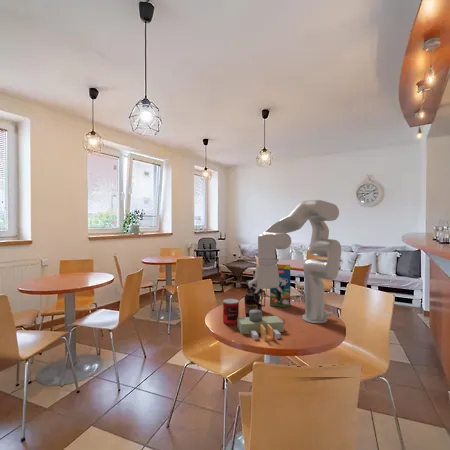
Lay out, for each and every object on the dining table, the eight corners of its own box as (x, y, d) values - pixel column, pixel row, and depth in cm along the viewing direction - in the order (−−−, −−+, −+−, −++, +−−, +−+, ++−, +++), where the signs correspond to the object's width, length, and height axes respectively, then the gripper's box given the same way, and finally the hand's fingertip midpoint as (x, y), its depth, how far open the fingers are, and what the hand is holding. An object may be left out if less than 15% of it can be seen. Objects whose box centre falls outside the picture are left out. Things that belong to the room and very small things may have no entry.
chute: (268, 335, 126) (268, 323, 126) (273, 340, 120) (273, 328, 120) (260, 335, 126) (260, 324, 125) (264, 341, 120) (264, 329, 120)
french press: (243, 312, 158) (243, 271, 158) (246, 307, 167) (246, 268, 167) (264, 314, 155) (264, 272, 155) (265, 309, 164) (266, 269, 164)
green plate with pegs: (277, 324, 139) (277, 307, 139) (289, 337, 123) (289, 318, 123) (237, 326, 136) (237, 309, 136) (244, 340, 120) (244, 320, 120)
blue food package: (270, 303, 176) (270, 263, 176) (289, 304, 174) (289, 264, 174) (269, 306, 170) (270, 265, 170) (290, 307, 168) (290, 265, 168)
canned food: (229, 318, 147) (229, 297, 147) (241, 322, 142) (241, 300, 142) (219, 322, 141) (220, 300, 141) (232, 326, 136) (232, 303, 136)
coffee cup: (259, 322, 142) (259, 296, 142) (242, 320, 144) (243, 295, 144) (260, 316, 151) (260, 292, 151) (245, 315, 153) (245, 291, 153)
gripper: (282, 259, 128) (283, 297, 128) (245, 261, 125) (246, 299, 126) (289, 262, 120) (289, 302, 121) (249, 264, 118) (250, 304, 118)
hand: (267, 300), depth 123 cm, fingers open, 9 cm apart
